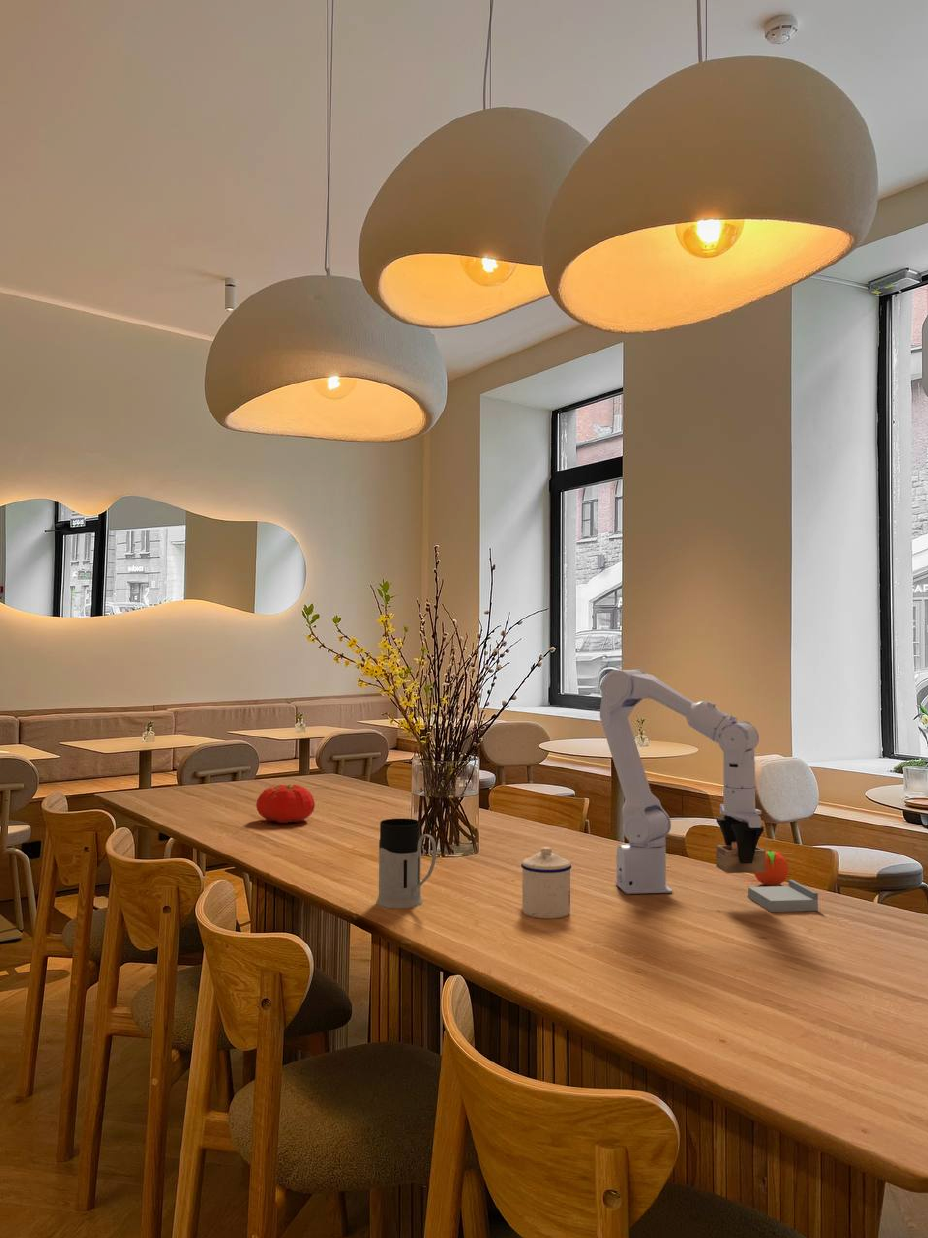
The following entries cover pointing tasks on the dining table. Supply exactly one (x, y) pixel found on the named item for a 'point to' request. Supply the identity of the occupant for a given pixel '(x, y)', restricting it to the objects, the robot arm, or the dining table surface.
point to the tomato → (285, 804)
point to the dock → (785, 897)
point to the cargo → (734, 845)
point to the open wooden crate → (731, 863)
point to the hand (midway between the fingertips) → (739, 859)
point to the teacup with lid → (546, 885)
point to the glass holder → (401, 863)
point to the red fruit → (773, 869)
